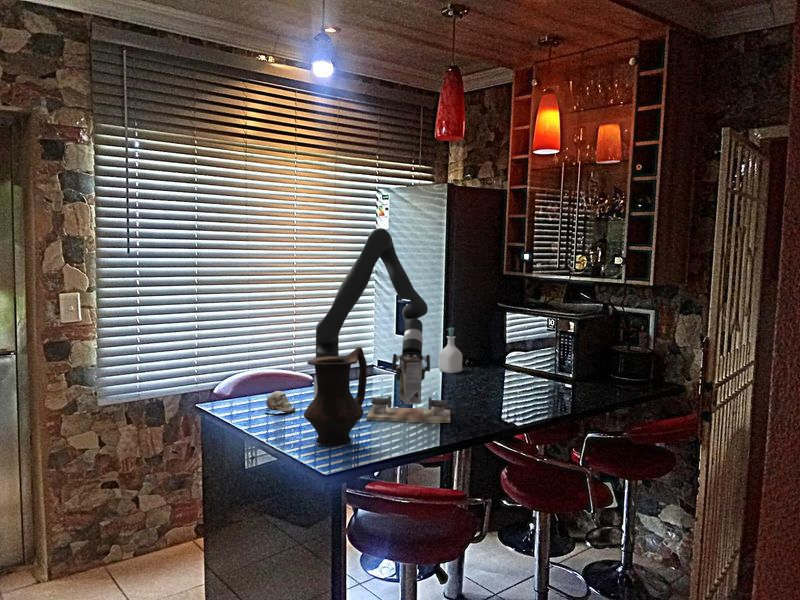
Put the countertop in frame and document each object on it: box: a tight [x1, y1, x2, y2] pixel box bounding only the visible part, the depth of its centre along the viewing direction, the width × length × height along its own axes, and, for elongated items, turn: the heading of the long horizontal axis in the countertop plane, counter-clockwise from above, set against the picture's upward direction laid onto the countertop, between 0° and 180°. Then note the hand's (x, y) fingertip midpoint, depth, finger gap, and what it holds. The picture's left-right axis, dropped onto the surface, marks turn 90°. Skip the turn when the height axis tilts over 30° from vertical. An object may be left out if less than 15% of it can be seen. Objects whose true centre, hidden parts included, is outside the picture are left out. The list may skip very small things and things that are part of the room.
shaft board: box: [366, 395, 451, 424], centre depth 228 cm, size 30×14×8 cm, turn 85°
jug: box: [303, 346, 368, 447], centre depth 195 cm, size 21×18×30 cm
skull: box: [266, 390, 296, 414], centre depth 233 cm, size 12×10×10 cm
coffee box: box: [399, 355, 423, 405], centre depth 227 cm, size 9×6×16 cm
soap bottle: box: [438, 327, 463, 374], centre depth 316 cm, size 10×10×23 cm
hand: (410, 379), depth 226 cm, fingers closed on coffee box, 8 cm apart
